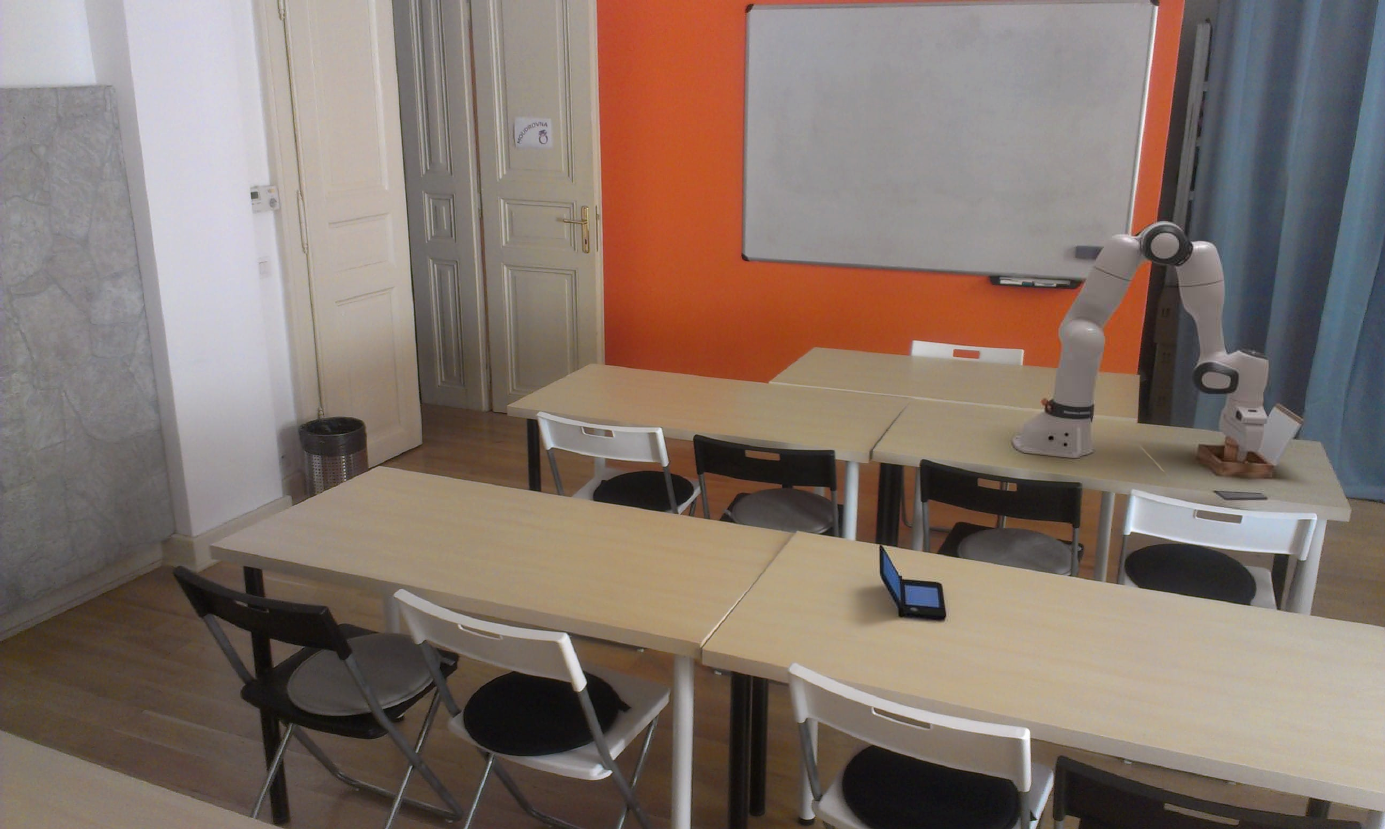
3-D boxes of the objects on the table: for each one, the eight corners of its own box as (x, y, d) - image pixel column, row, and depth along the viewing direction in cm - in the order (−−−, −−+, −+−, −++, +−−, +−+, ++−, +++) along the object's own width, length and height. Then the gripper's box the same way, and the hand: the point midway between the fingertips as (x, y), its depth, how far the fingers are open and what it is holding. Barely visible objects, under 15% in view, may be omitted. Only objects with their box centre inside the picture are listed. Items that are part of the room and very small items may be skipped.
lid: (1301, 419, 272) (1305, 421, 272) (1276, 402, 287) (1279, 404, 287) (1273, 465, 276) (1277, 466, 276) (1250, 446, 292) (1253, 447, 292)
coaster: (1225, 499, 264) (1226, 497, 264) (1203, 484, 275) (1203, 482, 274) (1267, 499, 265) (1267, 497, 264) (1242, 484, 275) (1243, 482, 275)
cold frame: (1216, 478, 279) (1219, 462, 278) (1196, 458, 294) (1198, 444, 293) (1270, 481, 278) (1273, 465, 276) (1247, 461, 293) (1250, 446, 292)
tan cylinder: (1225, 470, 283) (1230, 442, 281) (1216, 462, 289) (1221, 435, 287) (1249, 471, 282) (1254, 444, 280) (1240, 463, 289) (1245, 436, 286)
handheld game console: (946, 623, 200) (950, 580, 197) (876, 617, 202) (879, 574, 199) (941, 587, 215) (944, 546, 212) (876, 582, 217) (879, 541, 214)
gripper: (1217, 397, 291) (1209, 444, 295) (1245, 419, 272) (1236, 468, 276) (1240, 398, 290) (1232, 445, 294) (1270, 420, 271) (1261, 469, 275)
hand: (1234, 456), depth 285 cm, fingers closed on tan cylinder, 6 cm apart
